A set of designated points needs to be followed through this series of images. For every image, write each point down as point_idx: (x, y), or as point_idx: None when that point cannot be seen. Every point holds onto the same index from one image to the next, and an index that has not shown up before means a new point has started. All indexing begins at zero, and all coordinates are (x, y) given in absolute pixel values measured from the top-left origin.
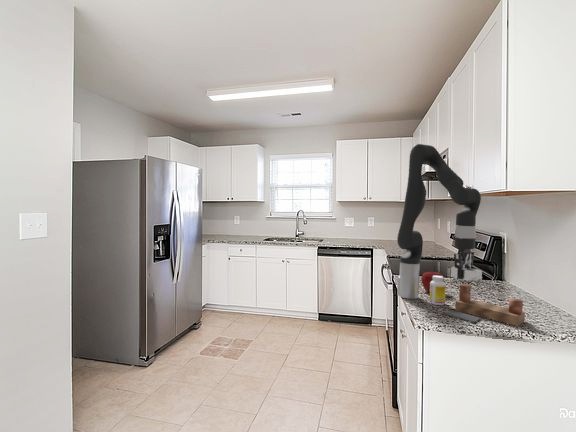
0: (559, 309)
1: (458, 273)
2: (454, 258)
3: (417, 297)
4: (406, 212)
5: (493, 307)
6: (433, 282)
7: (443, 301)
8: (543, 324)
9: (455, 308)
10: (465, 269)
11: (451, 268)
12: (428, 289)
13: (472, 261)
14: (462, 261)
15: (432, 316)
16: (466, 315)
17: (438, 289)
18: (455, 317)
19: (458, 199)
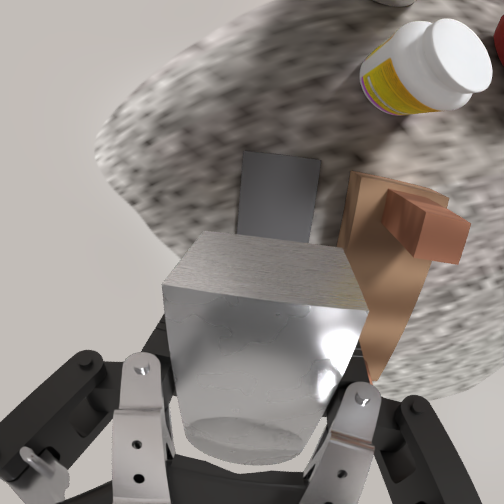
0: (497, 369)
1: (155, 335)
2: (7, 420)
3: (386, 3)
4: None
5: (370, 318)
6: (408, 37)
7: (387, 110)
8: (374, 384)
9: (352, 172)
10: (196, 408)
11: (166, 282)
12: (495, 39)
13: (394, 473)
14: (323, 448)
15: (183, 131)
16: (289, 231)
17: (389, 78)
18: (240, 202)
19: None
